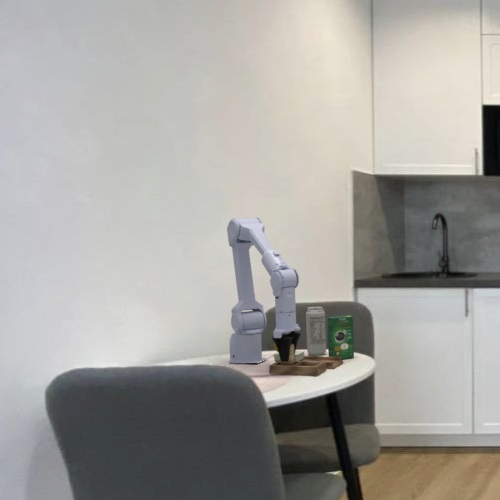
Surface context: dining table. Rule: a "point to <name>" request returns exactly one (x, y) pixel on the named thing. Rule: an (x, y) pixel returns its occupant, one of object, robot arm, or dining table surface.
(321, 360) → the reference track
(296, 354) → the lid
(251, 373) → the dining table surface
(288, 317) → the robot arm
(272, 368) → the socket board
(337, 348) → the coffee box
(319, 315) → the energy drink can
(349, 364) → the dining table surface
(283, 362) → the oak peg
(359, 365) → the dining table surface
